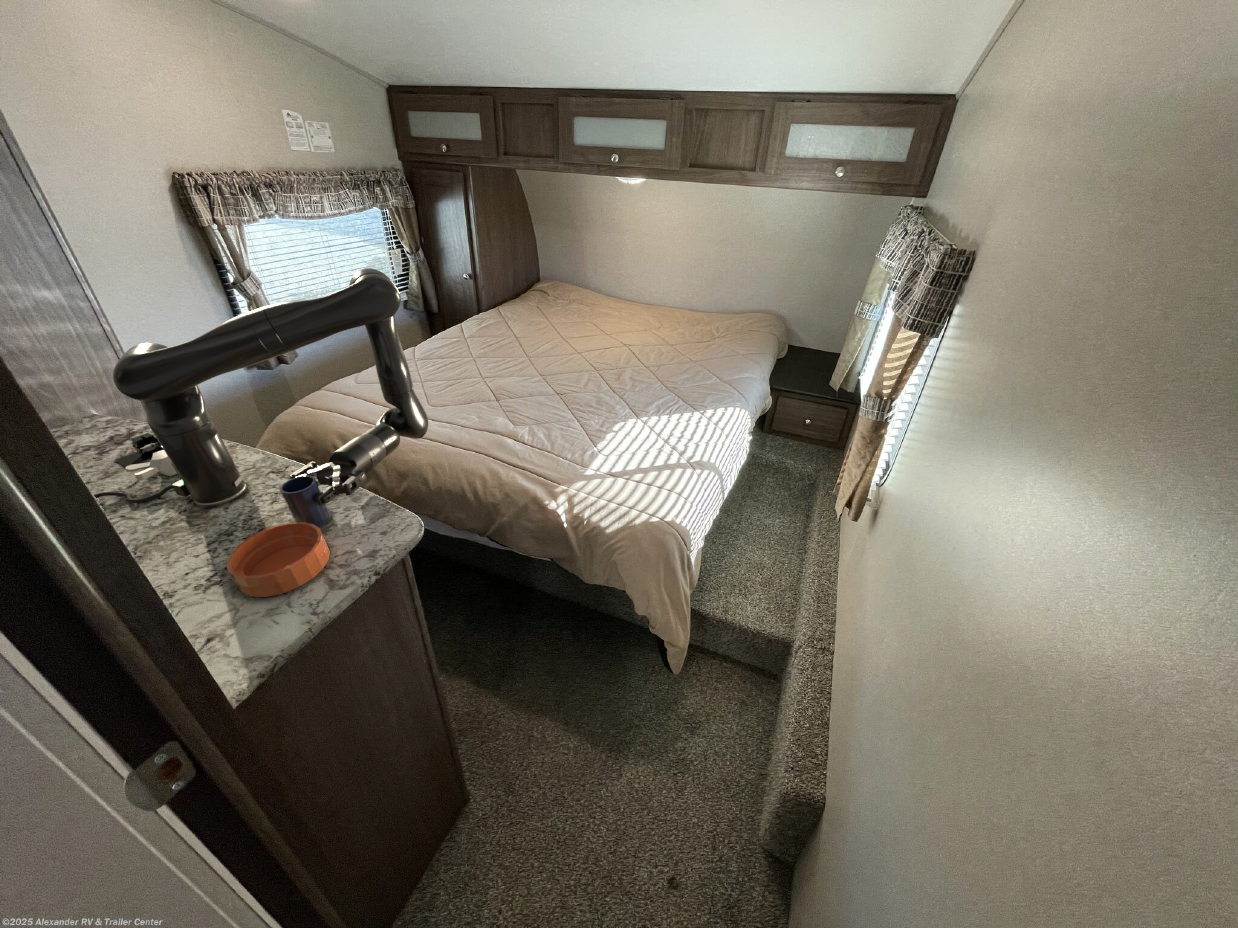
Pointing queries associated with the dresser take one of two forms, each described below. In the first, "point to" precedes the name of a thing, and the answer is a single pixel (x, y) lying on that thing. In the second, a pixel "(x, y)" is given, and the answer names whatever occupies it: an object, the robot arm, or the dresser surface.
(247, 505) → the dresser surface
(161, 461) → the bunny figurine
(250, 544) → the bowl
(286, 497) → the blue cup
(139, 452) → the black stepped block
